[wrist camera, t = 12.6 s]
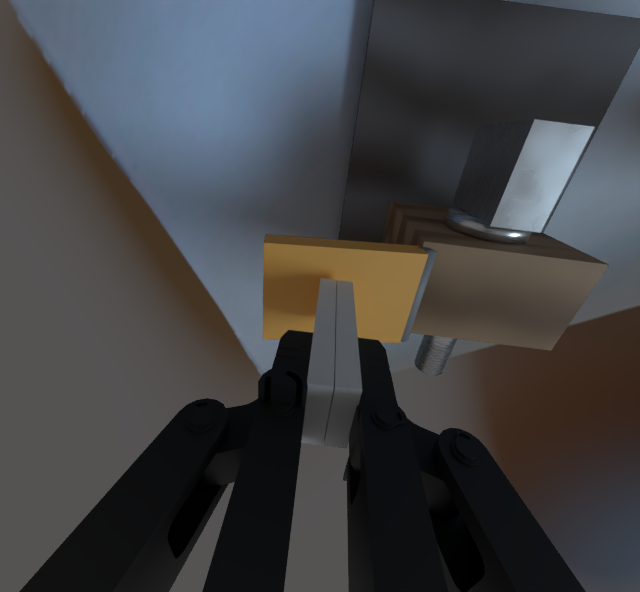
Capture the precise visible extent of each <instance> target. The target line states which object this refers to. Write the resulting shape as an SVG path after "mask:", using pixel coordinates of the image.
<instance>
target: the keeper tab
mask: <svg viewBox="0 0 640 592" xmlns="http://www.w3.org/2000/svg"><path fill="white" fill-rule="evenodd" d="M436 255H437V251H436V250H434V249H431V248H428V247H420V246H414V245H401V244H387V243H374V242H361V241H348V240H334V239H321V238H308V237H295V236H281V235H268V234H266V235H265V240H264V276H263V339H270V340H280V339H281V337H282V336H283V335H284V334H285V333H286V332H287V331H288V330H295V331H303V332H311V333H313V332H314V324H315V317H316V309H317V301H318V294H319V286H320V278H326V279H334V280H336V283H337V280H342V281H350V282H353V291H354V302H355V314H356V325H357V336H358V338H366V339H374V340H379V341H380V342H392V343H400V341H401V342H405V341H407V340H408V338H409V335H410V332H411V329H412V326H413V323H414V320H415V317H416V314H417V311H418V308H419V305H420V302H421V299H422V297H423V294H424V291H425V288H426V285H427V282H428V279H429V276H430V273H431V270H432V267H433V264H434V261H435V258H436Z"/></svg>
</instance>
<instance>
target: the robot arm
mask: <svg viewBox="0 0 640 592" xmlns="http://www.w3.org/2000/svg"><path fill="white" fill-rule="evenodd" d="M258 393H259V394H258V399H257V400H255V401H253V402H251V403H249V404H246V405H243V406H237V407H231V408H225V406H224V404H222V403H221V402H219V401H217V400H214V399H201V400H196V401H194V402H192V403H190V404H188V405H186V406H185V407H184V408H183V409H182V410H180V411H179V412H178V413H177V415H176V416H175V417H174V418H173V419H172V420H171V421H170V423H169V424H168V425H167V426H166V427H165V428H164V429H163V430H162V431H161V433H160V434H159V435H158V436H157V437H156V438H155V440H153V442H152V443H151V444H150V445H149V446H148V447H147V448H146V450H145V451H144V452H143V453H142V454H141V455H140V456H139V457H138V459H137V460H136V461H135V462H134V463H133V464H132V465H131V466H130V468H129V469H128V470H127V471H126V472H125V473H124V474H123V475H122V477H121V478H120V479H119V480H118V481H117V482H116V483H115V485H114V486H113V487H112V488H111V489H110V490H109V491H108V492H107V494H106V495H105V496H104V497H103V498H102V499H101V500H100V501H99V503H98V504H97V505H96V506H95V507H94V508H93V509H92V510H91V512H90V513H89V514H88V515H87V516H86V517H85V518H84V519H83V521H82V522H81V523H80V524H79V525H78V526H77V527H76V529H75V530H74V531H73V532H72V533H71V534H70V535H69V537H67V539H66V540H65V541H64V542H63V544H61V545H60V547H59V548H58V549H57V550H56V551H55V552H54V554H53V555H52V556H51V557H50V558H49V559H48V560H47V561H46V562H45V563H44V565H43V566H42V567H41V568H40V569H39V571H38V572H37V573H36V574H35V575H34V576H33V577H32V578H31V579H30V580H29V581H28V583H27V584H26V585H25V586H24V587H23V589H22V590H21V591H20V592H169V591H170V589H171V587H172V585H173V583H174V582H175V580H176V578H177V576H178V574H179V573H180V570H181V569H182V567H183V565H184V563H185V562H186V560H187V558H188V556H189V554H190V552H191V551H192V549H193V547H194V545H195V543H196V542H197V540H198V538H199V536H200V535H201V533H202V531H203V529H204V527H205V525H206V523H207V522H208V520H209V518H210V516H211V515H212V513H213V511H214V509H215V507H216V506H217V504H218V502H219V500H220V498H221V496H222V494H223V493H224V491H225V489H226V488H227V486H228V484H229V483H232V482H235V484H234V487H233V491H232V494H231V497H230V500H229V504H228V507H227V511H226V514H225V517H224V521H223V524H222V527H221V531H220V534H219V538H218V541H217V545H216V548H215V551H214V555H213V558H212V562H211V565H210V568H209V572H208V575H207V578H206V582H205V585H204V588H203V592H284V583H285V574H286V566H287V558H288V550H289V541H290V532H291V524H292V516H293V507H294V499H295V490H296V482H297V473H298V465H299V456H300V448H301V443H307V444H315V445H323V441H324V446H332V447H340V448H347V446H348V442H349V458H348V461H347V465H346V468H345V472H344V477H343V480H345V481H346V480H347V510H348V511H347V516H348V573H349V575H348V576H349V592H585V590H584V589H583V587H582V586H581V584H580V583H579V582H578V580H577V579H576V577H575V576H574V574H573V573H572V571H571V570H570V568H569V567H568V566H567V564H566V563H565V561H564V560H563V558H562V557H561V556H560V554H559V553H558V551H557V550H556V548H555V547H554V545H553V544H552V543H551V541H550V540H549V538H548V537H547V535H546V534H545V532H544V531H543V529H542V528H541V527H540V525H539V524H538V522H537V521H536V519H535V518H534V517H533V515H532V514H531V512H530V511H529V509H528V508H527V506H526V505H525V504H524V502H523V501H522V499H521V498H520V496H519V495H518V493H517V492H516V491H515V489H514V487H513V486H512V485H511V484H510V482H509V480H508V479H507V477H506V476H505V474H504V473H503V472H502V470H501V469H500V468H499V466H498V465H497V463H496V462H495V460H494V459H493V457H492V456H491V455H490V453H489V452H488V450H487V449H486V447H485V446H484V445H483V444H482V443H481V442H480V441H479V440H478V439H477V438H476V437H474V436H473V435H472V434H470V433H468V432H466V431H463V430H461V429H456V428H449V429H446V430H443V431H442V433H441V434H440V435H439V434H436V433H434V432H431V431H429V430H427V429H424V428H422V427H420V426H418V425H416V424H414V423H412V422H411V421H410V420H409V419H407V417H406V415H405V413H404V412H403V411H402V409H401V408H400V407H399V406H398V404H397V401H396V396H395V392H394V387H393V382H392V377H391V373H390V370H389V363H388V359H387V354H386V349H385V348H384V347H383V345H382V344H381V343H380V341H379V340H374V339H366V338H358V336H357V325H356V314H355V302H354V291H353V282H350V281H342V280H337V283H336V280H334V279H326V278H320V286H319V294H318V301H317V309H316V317H315V324H314V332H313V333H311V332H303V331H295V330H288V331H287V332H286V333H285V334H284V335H283V336H282V337H281V339H280V342H279V346H278V349H277V353H276V357H275V360H274V363H273V367H272V369H270V370H268V371H267V372H266V373H264V374H263V375H262V377H261V378H260V380H259V382H258Z"/></svg>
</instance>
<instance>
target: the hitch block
mask: <svg viewBox="0 0 640 592" xmlns="http://www.w3.org/2000/svg"><path fill="white" fill-rule="evenodd" d="M639 47H640V18H632V17H625V16H617V15H609V14H601V13H594V12H586V11H578V10H571V9H563V8H555V7H547V6H540V5H532V4H524V3H517V2H509V1H501V0H374V4H373V10H372V17H371V24H370V31H369V37H368V44H367V51H366V58H365V64H364V71H363V78H362V85H361V91H360V98H359V105H358V112H357V118H356V125H355V132H354V138H353V145H352V152H351V159H350V165H349V172H348V179H347V186H346V192H345V199H344V206H343V213H342V219H341V226H340V233H339V240H348V241H361V242H374V243H387V244H401V245H414V246H420V247H428V248H431V249H434V250H436V251H437V255H436V258H435V261H434V264H433V267H432V270H431V273H430V276H429V279H428V282H427V285H426V288H425V291H424V294H423V297H422V299H421V302H420V305H419V308H418V311H417V314H416V317H415V320H414V323H413V326H412V329H411V332H410V333H416V334H424V335H432V336H440V337H448V338H456V339H464V340H472V341H480V342H488V343H496V344H504V345H512V346H520V347H528V348H536V349H544V350H552V348H553V347H554V345H555V344H556V342H557V341H558V340H559V338H560V337H561V335H562V333H563V332H564V331H565V329H566V328H567V326H568V325H569V323H570V322H571V320H572V319H573V317H574V316H575V315H576V313H577V312H578V310H579V309H580V307H581V306H582V304H583V303H584V301H585V300H586V298H587V297H588V295H589V294H590V292H591V291H592V289H593V288H594V287H595V285H596V284H597V282H598V281H599V279H600V278H601V276H602V275H603V273H604V272H605V270H606V269H607V267H608V266H609V264H607V263H604V262H602V261H600V260H598V259H596V258H594V257H592V256H590V255H588V254H586V253H584V252H581V251H579V250H577V249H575V248H573V247H571V246H569V245H567V244H565V243H563V242H560V241H558V240H556V239H554V238H552V237H550V236H548V235H546V234H544V233H543V232H544V230H545V228H546V226H547V225H548V223H549V221H550V219H551V217H552V215H553V213H554V211H555V209H556V207H557V205H558V203H559V201H560V200H561V198H562V196H563V194H564V192H565V190H566V188H567V186H568V184H569V182H570V180H571V178H572V176H573V174H574V173H575V171H576V169H577V167H578V165H579V163H580V161H581V159H582V157H583V155H584V153H585V151H586V149H587V148H588V146H589V144H590V142H591V140H592V138H593V136H594V134H595V132H596V130H597V128H598V126H599V124H600V122H601V121H602V119H603V117H604V115H605V113H606V111H607V109H608V107H609V105H610V103H611V101H612V99H613V97H614V95H615V94H616V92H617V90H618V88H619V86H620V84H621V82H622V80H623V78H624V76H625V74H626V72H627V70H628V69H629V67H630V65H631V63H632V61H633V59H634V57H635V55H636V53H637V51H638V49H639ZM531 119H537V120H545V121H552V122H560V123H568V124H576V125H584V126H591V127H595V128H594V130H593V132H592V133H591V135H590V137H589V139H588V141H587V143H586V145H585V147H584V149H583V151H582V153H581V155H580V157H579V159H578V161H577V163H576V165H575V167H574V168H573V170H572V172H571V174H570V176H569V178H568V180H567V182H566V184H565V186H564V188H563V190H562V192H561V194H560V196H559V198H558V200H557V202H556V204H555V205H554V207H553V209H552V211H551V213H550V215H549V217H548V219H547V221H546V223H545V225H544V227H543V229H542V231H541V233H539V232H532V233H531V235H530V237H529V239H528V241H527V242H526V243H523V244H508V243H500V242H493V241H488V240H484V239H479V238H476V237H470V236H466V235H465V234H462V233H460V232H457V231H455V230H453V229H451V228H449V227H447V226H446V225H445V224H444V222H445V219H446V216H447V213H448V210H449V208H451V207H457V206H455V205H454V204H452V201H453V198H454V195H455V192H456V189H457V186H458V183H459V180H460V177H461V174H462V171H463V169H464V166H465V163H466V160H467V157H468V154H469V151H470V148H471V145H472V142H473V139H474V136H475V133H476V130H477V127H478V124H484V123H496V122H508V121H519V120H531Z"/></svg>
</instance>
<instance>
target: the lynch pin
mask: <svg viewBox="0 0 640 592" xmlns="http://www.w3.org/2000/svg"><path fill="white" fill-rule="evenodd" d="M594 128H595V127H591V126H584V125H576V124H568V123H560V122H552V121H545V120H537V119H531V120H519V121H508V122H496V123H484V124H478V127H477V130H476V133H475V136H474V139H473V142H472V145H471V148H470V151H469V154H468V157H467V160H466V163H465V166H464V169H463V171H462V174H461V177H460V180H459V183H458V186H457V189H456V192H455V195H454V198H453V201H452V204H454V205H455V206H457V207H451V208H449V210H448V213H447V216H446V219H445V222H444V224H445V225H446V226H447V227H449V228H451V229H453V230H455V231H457V232H460V233H462V234H465V235H466V236H470V237H476V238H479V239H484V240H488V241H493V242H500V243H508V244H523V243H526V242H527V241H528V239H529V237H530V235H531V233H532V232H539V233H541V231H542V229H543V227H544V225H545V223H546V221H547V219H548V217H549V215H550V213H551V211H552V209H553V207H554V205H555V204H556V202H557V200H558V198H559V196H560V194H561V192H562V190H563V188H564V186H565V184H566V182H567V180H568V178H569V176H570V174H571V172H572V170H573V168H574V167H575V165H576V163H577V161H578V159H579V157H580V155H581V153H582V151H583V149H584V147H585V145H586V143H587V141H588V139H589V137H590V135H591V133H592V132H593V130H594ZM456 341H457V339H456V338H448V337H440V336H432V335H424V337H423V339H422V342H421V345H420V347H419V350H418V353H417V355H416V358H415V365H416V367H417V368H418V369H419V370H420V371H421V372H423V373H425V374H428V375H431V376H438V375H440V374H442V372H443V370H444V368H445V366H446V363H447V361H448V359H449V357H450V354H451V352H452V350H453V348H454V346H455V343H456Z"/></svg>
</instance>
